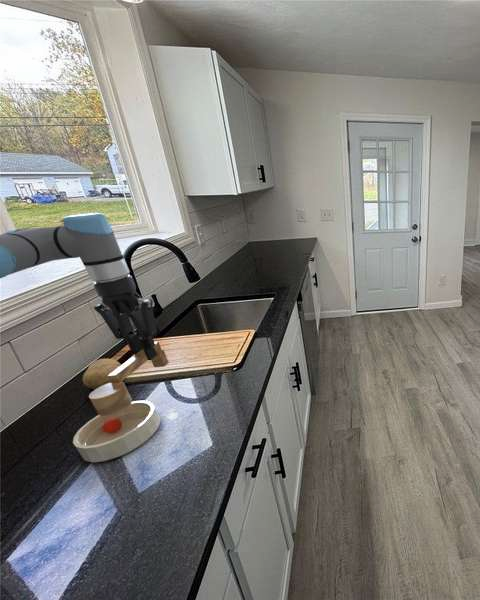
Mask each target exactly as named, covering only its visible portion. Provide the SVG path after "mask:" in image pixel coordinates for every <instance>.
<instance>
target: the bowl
mask: <svg viewBox="0 0 480 600" xmlns="http://www.w3.org/2000/svg"><path fill="white" fill-rule="evenodd" d="M112 418H117V419H119V420H120V421H121V423H122V425H121V427H120V429H119V430H118V431H116V432H114V433H106V432H104V431H103V424H104V423H105V422H106V421H107V420H109V419H112ZM160 425H161V417H160V415H159V412H158V410H157V408H156V405H155V404H154V403H153V402H151V401H149V400H134V401H132V402H131V404H130V405H129V406H127V407H126V408H125V409H123V410H121V411H119V412H117V413H115V414H112V415H108V416H100V415H99V414H97V415H96V416H94V417H93V418H92V419H90V420H89V421H88V422H86V423H85V424H84V425H83V426H81V427H80V428H79V429H78V430H77V432H76V433H75V434H74V436H73V440H72V444H73V446H74V447H75V449H76V451H77V452H78V454H79V455H80V457H81V458H82V459H83V460H84V462H88V463H100V462H106V461H109V460H113V459H116V458H119V457H122V456H124V455H126V454H128V453H130V452H132V451H133V450H135V449H137V448H138V447H141V445H143V444H144V443H145V442H146V441H148V440H149V439H150V438H151V437H152V436H154V434H155V433H156V432H157V430H158V429H159V427H160Z"/></svg>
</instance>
